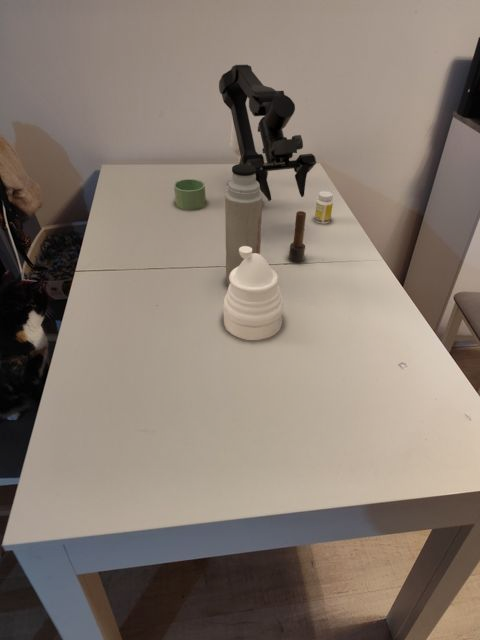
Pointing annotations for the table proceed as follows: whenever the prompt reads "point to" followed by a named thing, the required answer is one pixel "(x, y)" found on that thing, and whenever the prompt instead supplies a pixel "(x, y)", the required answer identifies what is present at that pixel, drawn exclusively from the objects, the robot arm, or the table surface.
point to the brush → (298, 239)
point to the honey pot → (253, 299)
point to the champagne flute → (235, 140)
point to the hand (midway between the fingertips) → (286, 198)
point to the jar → (190, 194)
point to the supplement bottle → (324, 207)
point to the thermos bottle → (242, 215)
